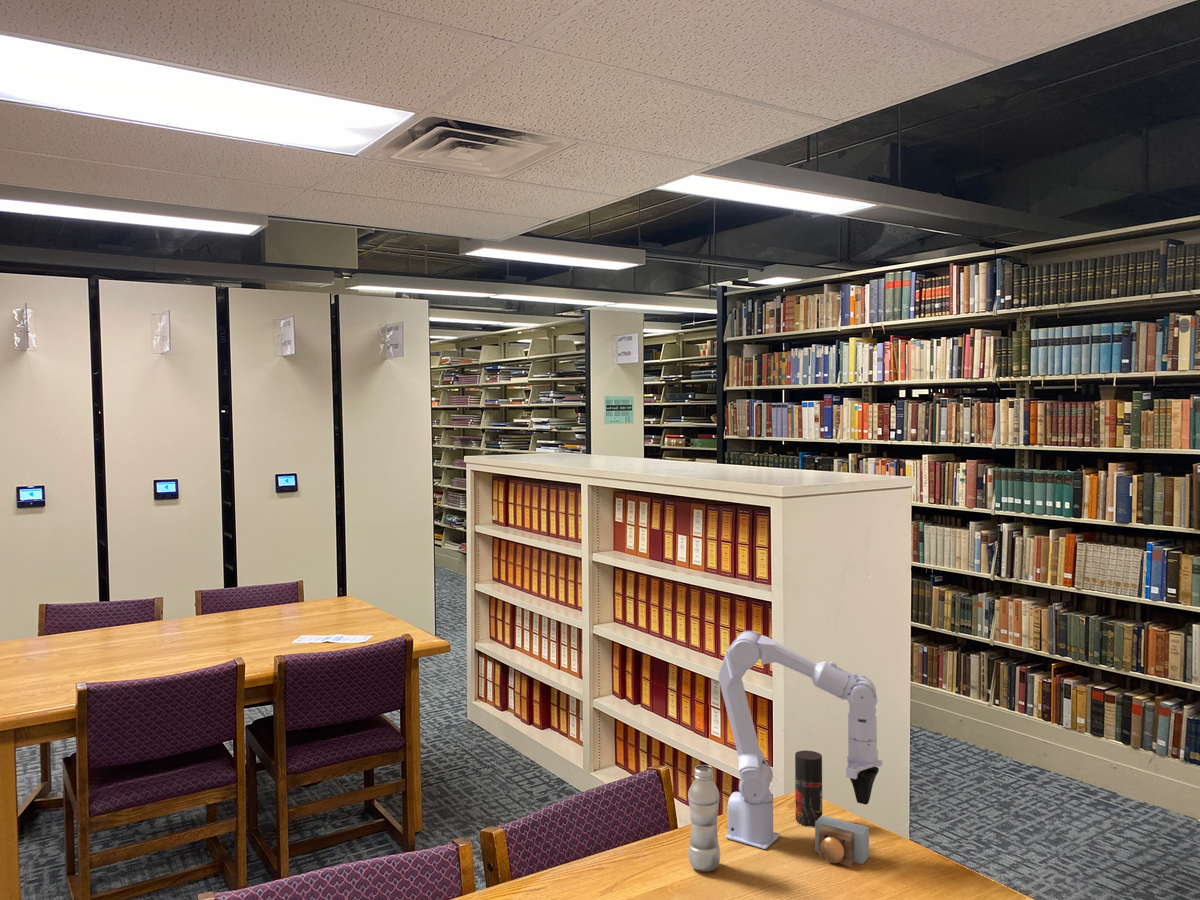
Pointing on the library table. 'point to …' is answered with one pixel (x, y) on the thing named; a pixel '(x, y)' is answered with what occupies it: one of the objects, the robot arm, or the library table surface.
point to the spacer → (841, 834)
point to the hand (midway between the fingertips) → (862, 802)
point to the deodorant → (808, 787)
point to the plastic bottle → (704, 820)
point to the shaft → (833, 849)
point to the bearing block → (859, 831)
